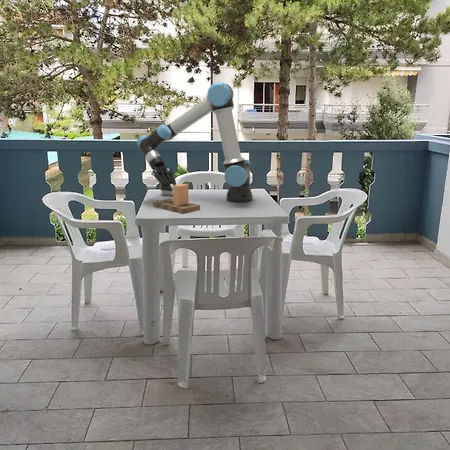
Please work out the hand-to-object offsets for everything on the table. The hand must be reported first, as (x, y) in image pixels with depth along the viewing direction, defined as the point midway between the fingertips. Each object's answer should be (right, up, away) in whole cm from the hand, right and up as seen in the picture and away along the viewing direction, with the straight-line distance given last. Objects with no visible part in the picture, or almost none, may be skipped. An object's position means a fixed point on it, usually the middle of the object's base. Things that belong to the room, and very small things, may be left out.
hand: (176, 195), depth 233 cm
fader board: (0, -7, +2) cm, 7 cm away
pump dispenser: (-9, +3, +37) cm, 39 cm away
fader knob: (+3, -5, -1) cm, 5 cm away
